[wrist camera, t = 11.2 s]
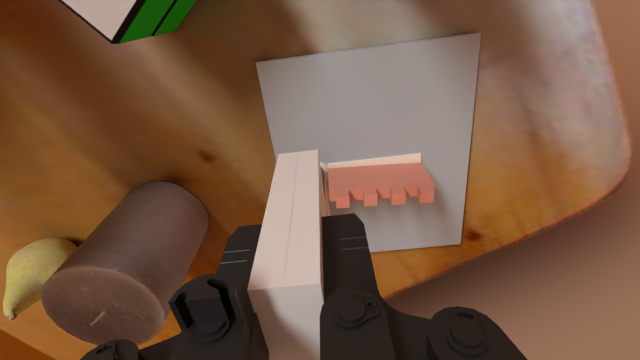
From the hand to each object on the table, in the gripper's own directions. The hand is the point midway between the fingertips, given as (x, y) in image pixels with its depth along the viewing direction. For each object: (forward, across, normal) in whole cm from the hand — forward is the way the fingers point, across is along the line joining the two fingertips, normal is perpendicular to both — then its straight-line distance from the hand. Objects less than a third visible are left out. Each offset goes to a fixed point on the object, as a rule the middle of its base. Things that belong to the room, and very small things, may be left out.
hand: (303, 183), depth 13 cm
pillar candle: (+21, -19, -14) cm, 32 cm away
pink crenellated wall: (+20, +5, -10) cm, 23 cm away
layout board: (+21, +5, -10) cm, 24 cm away
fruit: (+22, -33, -17) cm, 43 cm away
